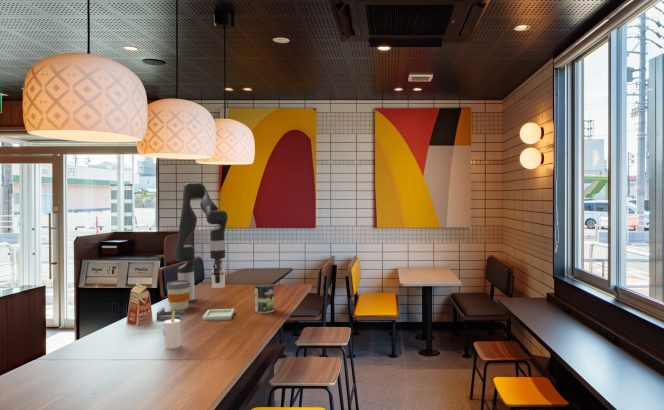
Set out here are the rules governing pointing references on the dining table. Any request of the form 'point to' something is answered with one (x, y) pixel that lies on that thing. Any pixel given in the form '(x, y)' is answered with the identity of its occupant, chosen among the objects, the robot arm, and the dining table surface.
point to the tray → (219, 314)
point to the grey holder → (169, 315)
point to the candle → (172, 333)
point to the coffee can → (264, 298)
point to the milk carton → (139, 306)
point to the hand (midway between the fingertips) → (218, 281)
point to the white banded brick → (222, 279)
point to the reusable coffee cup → (178, 294)
